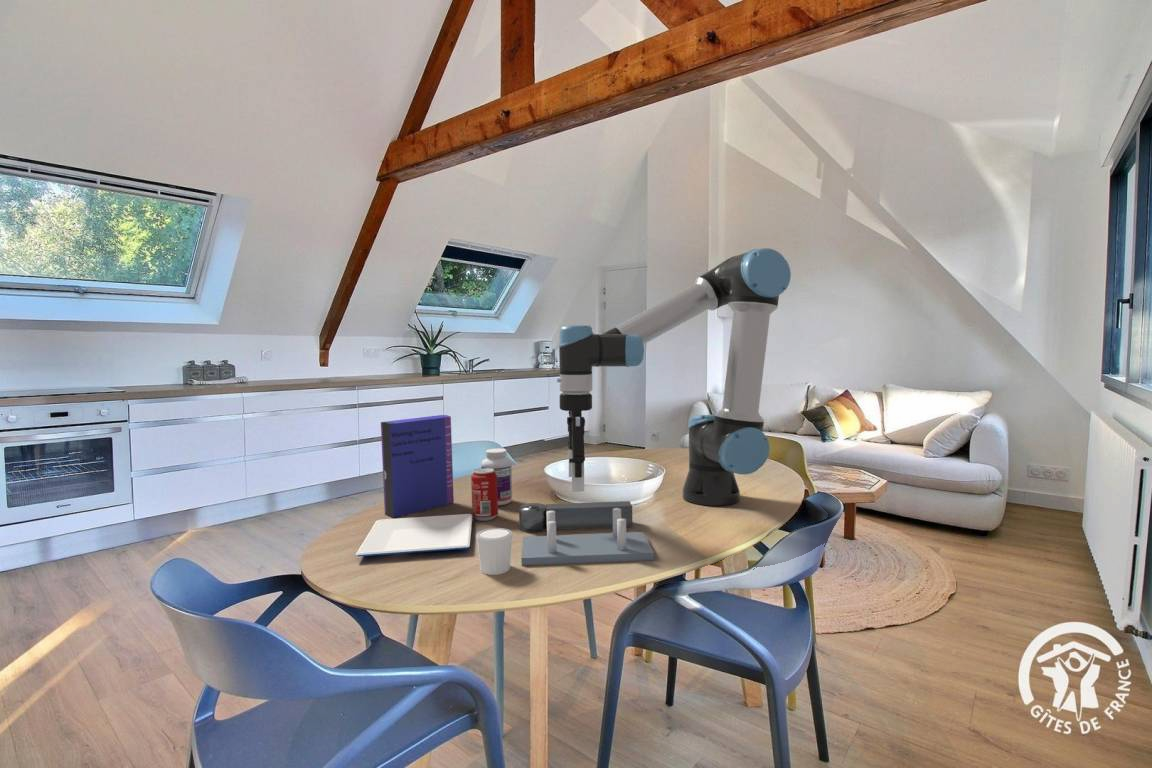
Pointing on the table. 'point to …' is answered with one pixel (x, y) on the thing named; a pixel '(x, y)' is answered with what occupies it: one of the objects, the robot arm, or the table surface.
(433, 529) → the plate
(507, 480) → the pill bottle
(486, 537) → the white cup
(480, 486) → the beverage can
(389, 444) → the blue book
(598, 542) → the peg rack
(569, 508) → the dark grey bar
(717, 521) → the table surface
